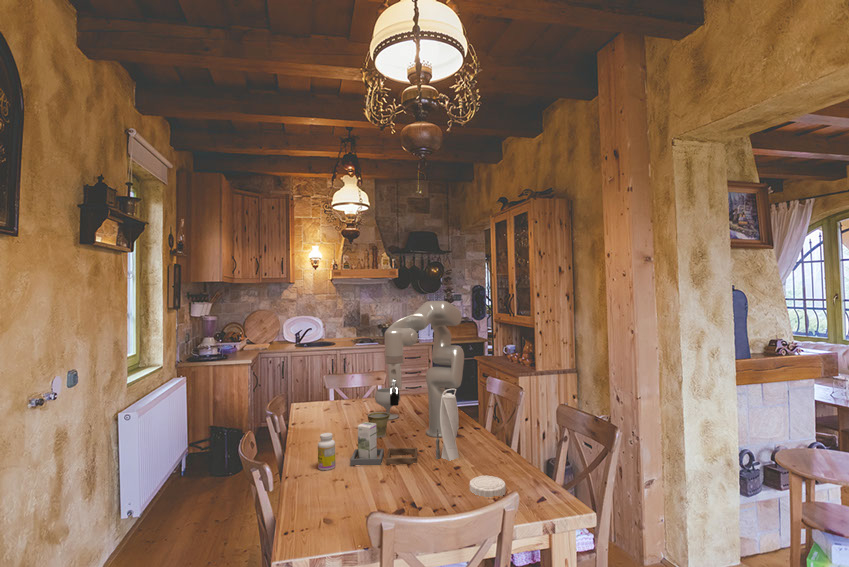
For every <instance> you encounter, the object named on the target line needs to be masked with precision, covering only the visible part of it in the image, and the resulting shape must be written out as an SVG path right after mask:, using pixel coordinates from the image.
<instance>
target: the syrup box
mask: <svg viewBox="0 0 849 567" xmlns="http://www.w3.org/2000/svg"><path fill="white" fill-rule="evenodd" d="M377 439H378V438H376V423H369V422H367V421H365V422H362V423H360V424H358V425H357V449H358V456H357V459H364V458H378V456H377V449H378V447H377V446H378V445H377V444H378V443H377V441H378V440H377Z"/></svg>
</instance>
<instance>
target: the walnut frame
mask: <svg viewBox="0 0 849 567" xmlns="http://www.w3.org/2000/svg"><path fill="white" fill-rule="evenodd" d="M406 454H407V455H406ZM408 454H414V455H413V456H414V457H413V456H412V457H391V456H409V455H408ZM385 462H386V463H385V465H386V466H390V465H389V464H413V463H417V464H418V447H397V448H394V447H392V448H390V447H389V448H388V451H387V454H386V459H385Z"/></svg>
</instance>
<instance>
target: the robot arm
mask: <svg viewBox="0 0 849 567" xmlns="http://www.w3.org/2000/svg"><path fill="white" fill-rule="evenodd" d="M462 318H463V316H462V313H461V311H460V309H459V308H457V307H456V306H455V305H453V304H452V303H451V302H448V301H445V300H431V301H429V300H428V301H426V302H424V303H422V305H420V306H419V307H418V309H417V310H415V311H414V312H413V313H412V314H410V315H407V316H404V317H402V318H399V319H398V320H396V321H394V322H393V323H392V324H391V325H389V327H387V329H386V330H385V332H384V334H383V335H384V338H383V339H384V365H386V366H387V379H388V388H389V389H390V390H391V395H390V405H391V406H392V407H394V406H397V407H398V405H399V402H398V400H399V393H400V390H402V386H403V385H402V384H403V381H402V365H403V364H404V347H411V346H414V345H415V344H416V343H417V342H418V338H419V336H418V332H419V331H422V330H425V329H426V328H427V327H428V326H429V325H430V326H431V329H432V331H433V334H434V335H433V345H432V352H431V360H432V362H433V363H434V364H436V365H444V366H445V367H444V366H432V367H430V368H428V369H427V370H426V373H425V380H426V386H427V392H428V394H427V396H428V429H426V430H425V435H427V436H428V437H432V438H437V428H438V433H439V435H438V438H443V437H442V432H441V426H440V407H441V399H442V394H443V392H444V391H445V390H446V389H458V388H460V387H461V385H462V382H463V372H464V364H465V352H464V350H463V348H462V347H461V346H459V345H456V344H455V345H454V344H453V345H452V334H451V331H450V329H449V328H448V327H450V326H451V327H452V326H453V327H454V326H456V327H457V326H458V325H460V324H461V322H462ZM447 326H448V327H447ZM446 366H451V367H446ZM446 393H448V391H446V392H445V393H444V395H445V394H446ZM458 430H460V428H459V426H458ZM458 430H457V431H458Z"/></svg>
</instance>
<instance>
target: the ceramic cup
mask: <svg viewBox="0 0 849 567" xmlns="http://www.w3.org/2000/svg"><path fill="white" fill-rule="evenodd" d="M389 417H390V414H389V413H386V412H385V411H375V412H374V411H373V412H370V413H368V414H367V420H368V423H376V438H377V439H379V438H380V437H381V438H384V437H386V434H387V426H388V421H389V420H388V419H389ZM381 438H380V439H381Z"/></svg>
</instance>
